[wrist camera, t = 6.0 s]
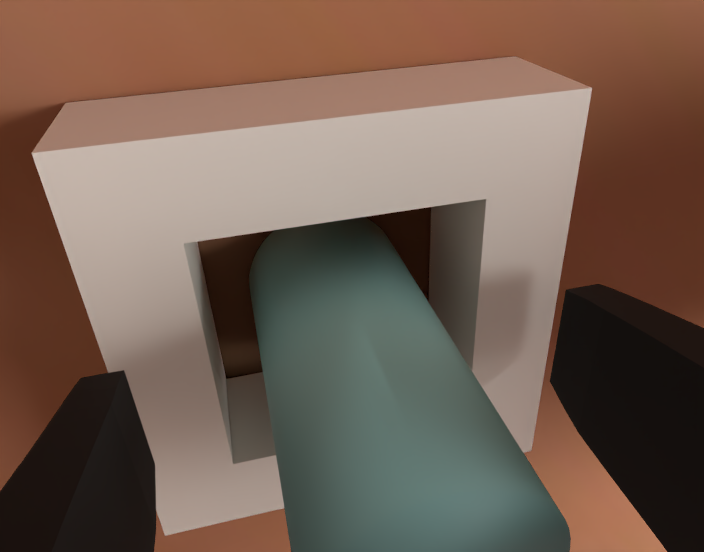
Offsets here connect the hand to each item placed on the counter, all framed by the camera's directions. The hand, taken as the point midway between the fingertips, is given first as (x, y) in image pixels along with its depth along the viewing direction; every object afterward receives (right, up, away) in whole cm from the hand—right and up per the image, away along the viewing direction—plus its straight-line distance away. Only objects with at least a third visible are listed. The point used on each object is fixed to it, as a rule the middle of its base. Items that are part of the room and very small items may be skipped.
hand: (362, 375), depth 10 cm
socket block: (-1, +2, +3) cm, 3 cm away
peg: (-1, +2, +3) cm, 3 cm away
